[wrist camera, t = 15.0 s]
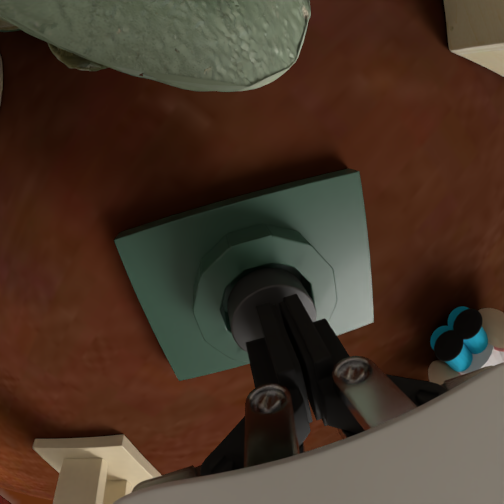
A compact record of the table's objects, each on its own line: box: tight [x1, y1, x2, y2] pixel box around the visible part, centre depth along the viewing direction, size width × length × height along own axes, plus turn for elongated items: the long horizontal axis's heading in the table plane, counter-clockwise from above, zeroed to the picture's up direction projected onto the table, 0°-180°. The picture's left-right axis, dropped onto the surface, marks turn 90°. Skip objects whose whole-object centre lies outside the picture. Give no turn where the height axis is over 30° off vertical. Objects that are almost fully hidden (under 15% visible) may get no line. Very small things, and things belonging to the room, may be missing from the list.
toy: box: [428, 306, 504, 385], centre depth 20 cm, size 8×6×15 cm
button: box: [227, 268, 317, 353], centre depth 14 cm, size 4×4×2 cm
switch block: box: [114, 168, 374, 381], centre depth 15 cm, size 12×9×3 cm
